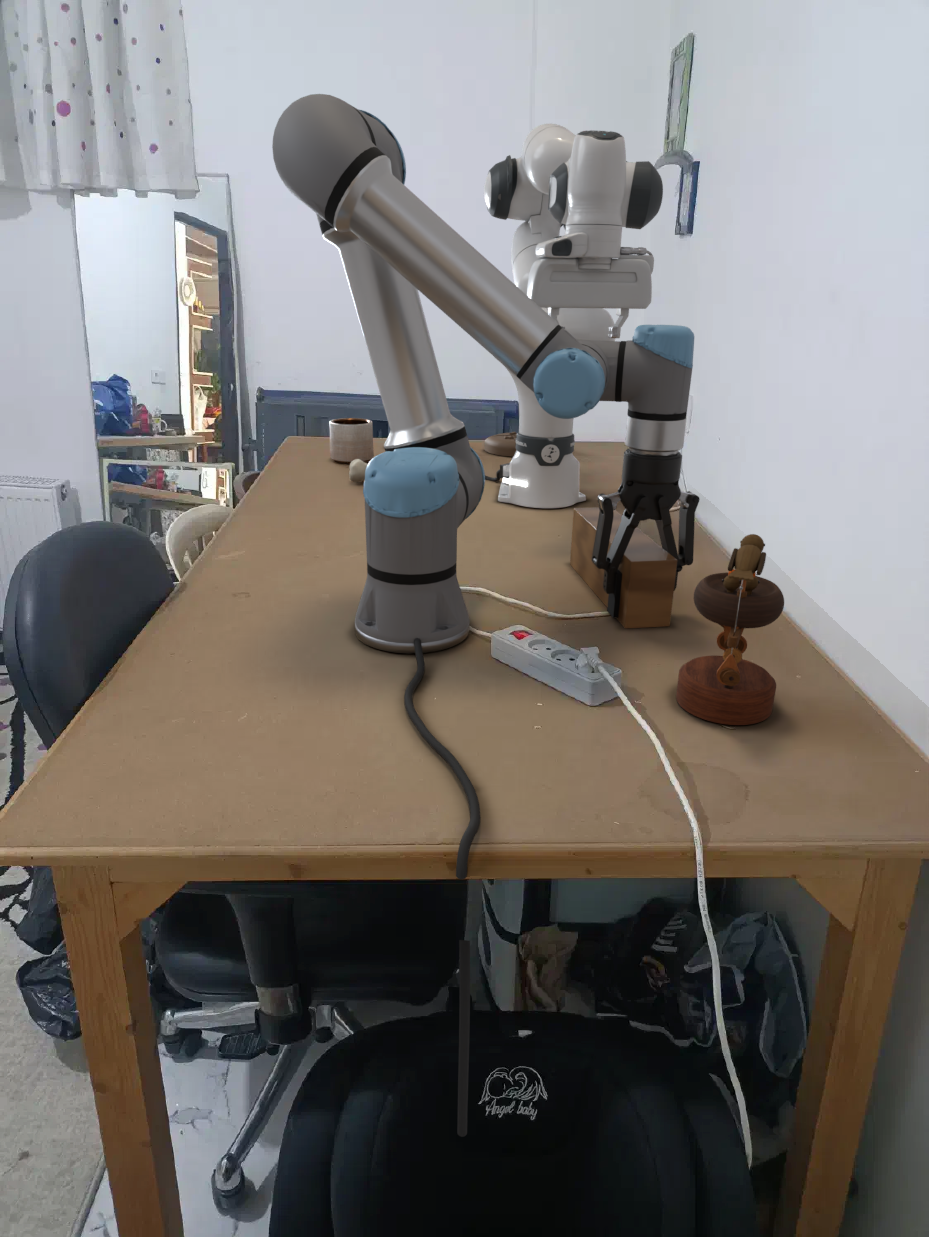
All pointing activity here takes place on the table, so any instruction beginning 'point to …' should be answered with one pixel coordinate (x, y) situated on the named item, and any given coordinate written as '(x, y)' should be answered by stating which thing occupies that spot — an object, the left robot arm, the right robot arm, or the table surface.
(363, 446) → the planter
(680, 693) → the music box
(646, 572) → the box
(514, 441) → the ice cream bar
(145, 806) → the table surface
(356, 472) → the dog toy
